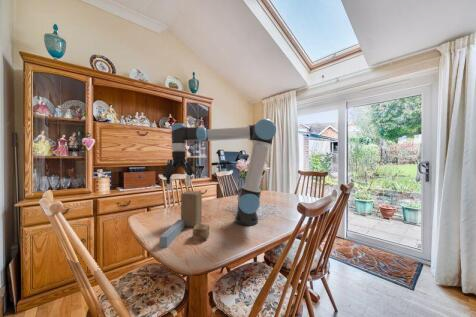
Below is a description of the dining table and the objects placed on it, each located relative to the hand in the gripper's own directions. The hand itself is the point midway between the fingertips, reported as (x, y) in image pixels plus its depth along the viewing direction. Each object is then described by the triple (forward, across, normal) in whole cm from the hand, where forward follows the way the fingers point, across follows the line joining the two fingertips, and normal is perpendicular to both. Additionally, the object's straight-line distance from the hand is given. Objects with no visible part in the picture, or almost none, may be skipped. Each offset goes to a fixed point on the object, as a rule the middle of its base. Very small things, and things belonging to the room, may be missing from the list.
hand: (179, 187), depth 115 cm
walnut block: (+25, +1, +18) cm, 30 cm away
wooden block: (+25, -10, -1) cm, 27 cm away
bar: (+24, +9, +4) cm, 26 cm away
